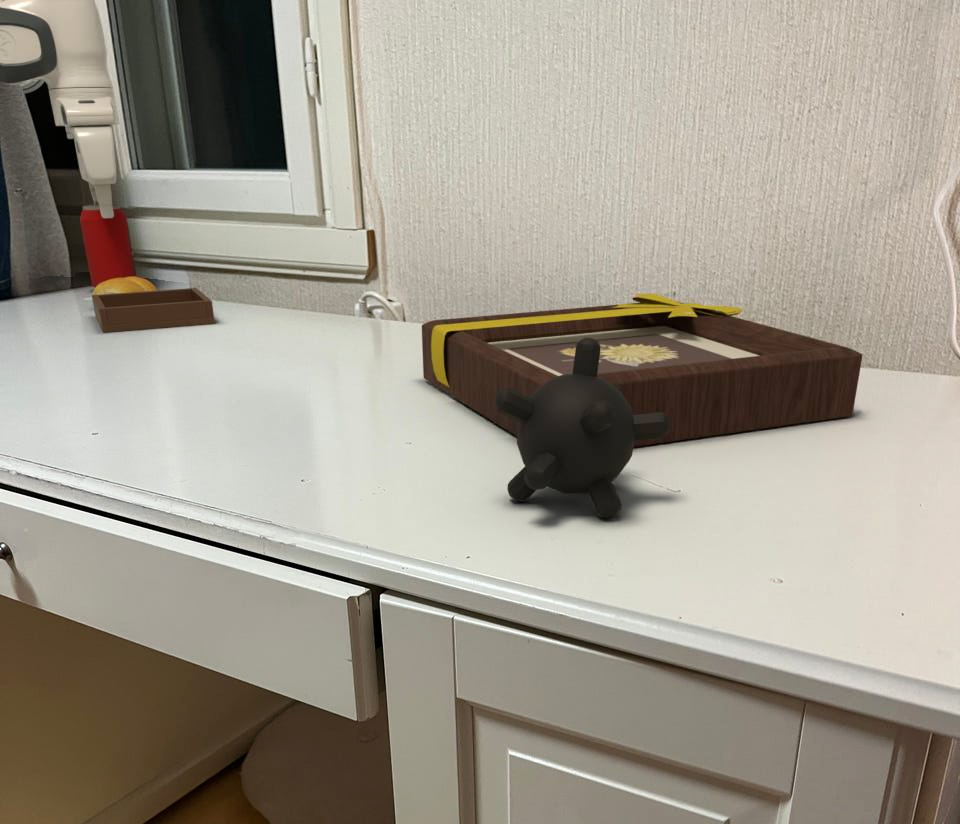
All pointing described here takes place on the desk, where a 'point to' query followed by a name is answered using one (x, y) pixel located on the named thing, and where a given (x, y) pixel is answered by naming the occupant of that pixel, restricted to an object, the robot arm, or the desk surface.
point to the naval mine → (576, 433)
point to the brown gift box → (650, 364)
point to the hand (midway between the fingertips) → (105, 215)
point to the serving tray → (152, 309)
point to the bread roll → (124, 286)
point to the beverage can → (107, 244)
